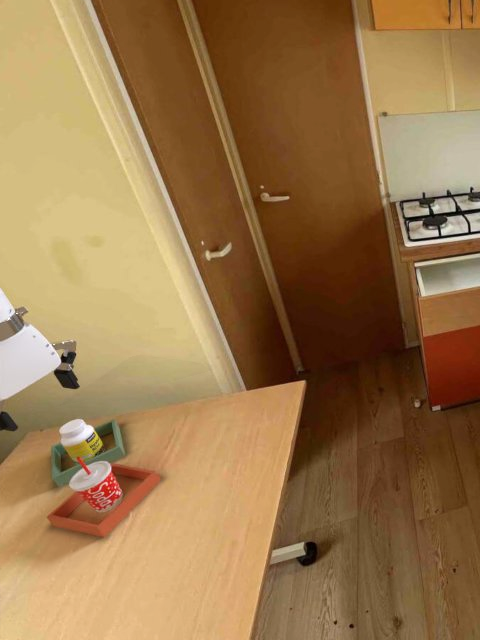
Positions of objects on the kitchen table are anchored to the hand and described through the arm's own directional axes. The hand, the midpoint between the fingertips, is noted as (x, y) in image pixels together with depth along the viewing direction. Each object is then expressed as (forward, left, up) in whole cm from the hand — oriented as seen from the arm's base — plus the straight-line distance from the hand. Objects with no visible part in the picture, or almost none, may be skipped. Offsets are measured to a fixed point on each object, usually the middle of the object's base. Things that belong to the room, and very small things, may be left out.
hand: (42, 407), depth 75 cm
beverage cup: (0, 0, -28) cm, 28 cm away
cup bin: (0, 0, -28) cm, 28 cm away
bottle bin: (-16, +8, -28) cm, 33 cm away
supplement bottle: (-16, +8, -28) cm, 33 cm away
